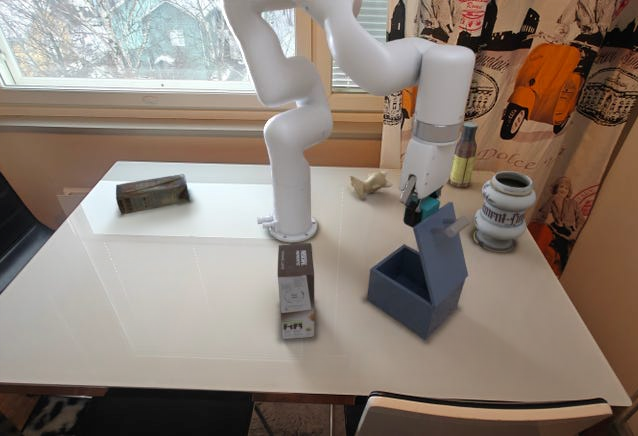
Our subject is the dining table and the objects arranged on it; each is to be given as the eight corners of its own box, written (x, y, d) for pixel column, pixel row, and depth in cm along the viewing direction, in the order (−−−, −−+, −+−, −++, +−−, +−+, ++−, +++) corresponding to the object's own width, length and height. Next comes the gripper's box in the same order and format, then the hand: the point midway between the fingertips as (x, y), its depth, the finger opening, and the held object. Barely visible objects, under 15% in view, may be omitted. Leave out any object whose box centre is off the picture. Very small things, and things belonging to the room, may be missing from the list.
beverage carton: (191, 202, 114) (187, 183, 110) (120, 217, 107) (113, 196, 104) (188, 189, 120) (183, 170, 116) (120, 203, 113) (113, 183, 110)
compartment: (366, 299, 82) (369, 268, 77) (399, 273, 89) (404, 243, 84) (425, 340, 74) (433, 308, 69) (456, 308, 80) (466, 277, 75)
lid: (412, 227, 65) (440, 229, 60) (448, 201, 71) (476, 201, 67) (432, 306, 69) (460, 313, 65) (464, 275, 75) (491, 279, 71)
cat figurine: (346, 173, 116) (383, 160, 116) (349, 188, 122) (385, 175, 122) (355, 193, 111) (394, 179, 111) (358, 207, 117) (395, 194, 117)
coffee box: (315, 337, 74) (315, 275, 65) (282, 339, 74) (277, 277, 64) (312, 301, 82) (311, 242, 72) (281, 303, 81) (277, 243, 72)
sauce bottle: (466, 179, 126) (481, 120, 115) (471, 189, 121) (486, 128, 110) (446, 178, 126) (458, 119, 115) (449, 188, 121) (463, 127, 110)
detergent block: (423, 231, 71) (427, 210, 68) (402, 221, 73) (405, 201, 71) (436, 221, 73) (440, 201, 71) (416, 212, 76) (419, 192, 73)
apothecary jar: (459, 237, 100) (475, 176, 90) (486, 221, 106) (504, 162, 96) (501, 261, 92) (524, 197, 82) (528, 243, 98) (552, 181, 88)
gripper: (442, 110, 70) (426, 196, 80) (385, 136, 60) (376, 230, 71) (481, 121, 66) (459, 210, 76) (427, 150, 56) (410, 249, 66)
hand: (419, 219), depth 73 cm, fingers closed on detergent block, 4 cm apart
